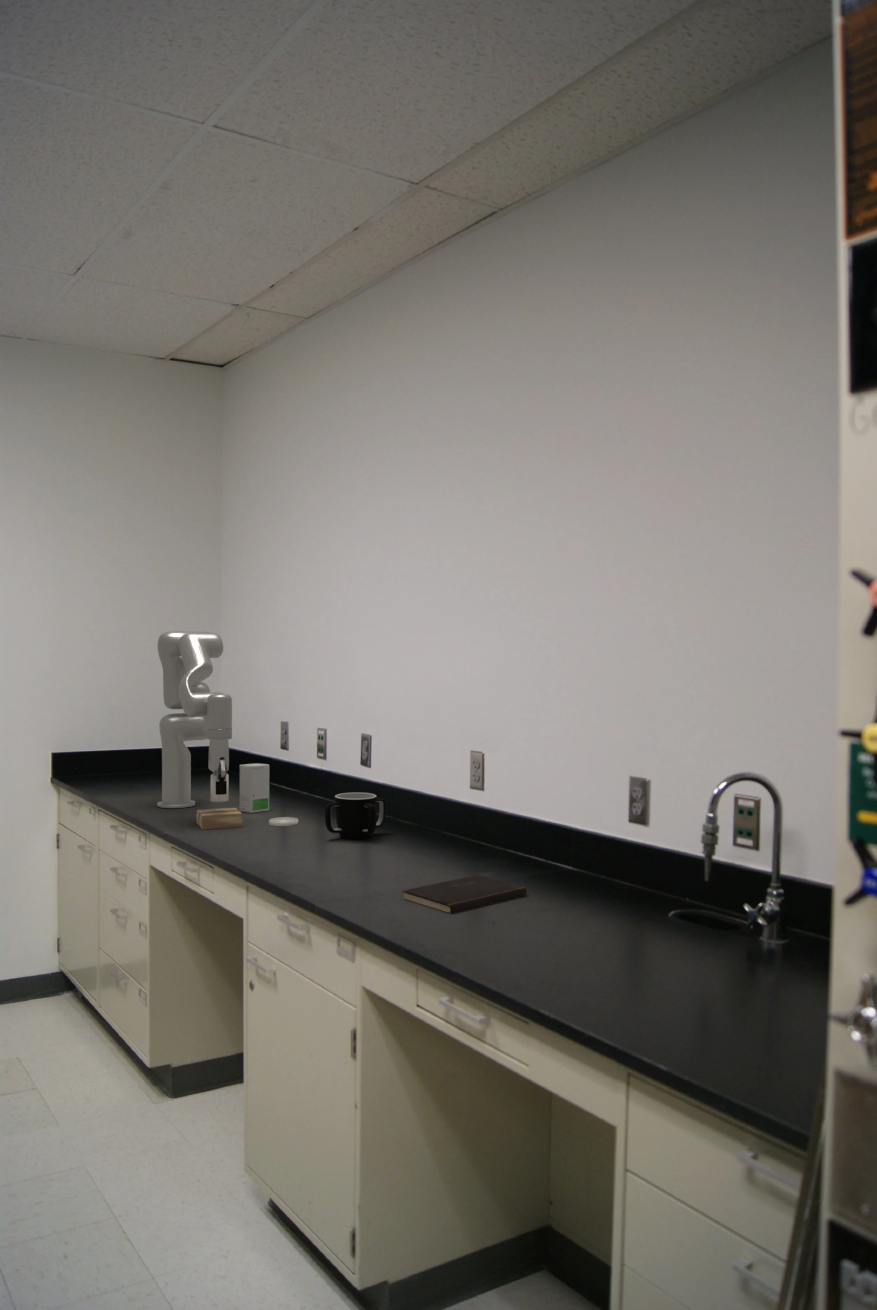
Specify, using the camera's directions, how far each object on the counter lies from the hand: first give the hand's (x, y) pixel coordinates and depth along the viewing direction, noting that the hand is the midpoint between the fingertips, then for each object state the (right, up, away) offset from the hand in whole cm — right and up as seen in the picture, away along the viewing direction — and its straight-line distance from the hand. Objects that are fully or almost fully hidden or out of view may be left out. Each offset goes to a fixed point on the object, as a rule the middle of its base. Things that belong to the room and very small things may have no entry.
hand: (219, 792), depth 299 cm
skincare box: (+6, -10, +25) cm, 28 cm away
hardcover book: (+73, -12, -83) cm, 112 cm away
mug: (+43, -11, -17) cm, 48 cm away
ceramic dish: (+19, -10, +3) cm, 22 cm away
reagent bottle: (0, -3, 0) cm, 3 cm away
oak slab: (0, -10, 0) cm, 10 cm away
